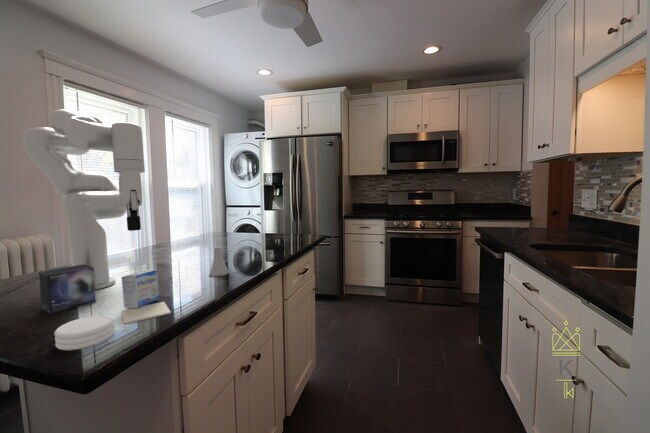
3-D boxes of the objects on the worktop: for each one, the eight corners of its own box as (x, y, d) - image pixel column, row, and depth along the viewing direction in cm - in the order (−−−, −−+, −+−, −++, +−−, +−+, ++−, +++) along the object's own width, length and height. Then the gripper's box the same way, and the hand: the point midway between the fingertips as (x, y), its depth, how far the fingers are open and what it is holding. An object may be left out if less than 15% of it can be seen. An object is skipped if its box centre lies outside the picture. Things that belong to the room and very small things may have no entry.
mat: (121, 311, 81) (121, 310, 81) (164, 303, 87) (163, 301, 86) (124, 324, 73) (124, 322, 73) (170, 313, 79) (170, 311, 79)
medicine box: (137, 308, 81) (135, 275, 81) (123, 308, 82) (120, 276, 82) (159, 299, 89) (157, 269, 89) (146, 299, 90) (143, 269, 90)
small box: (49, 315, 79) (46, 275, 78) (40, 310, 83) (36, 272, 82) (97, 302, 88) (94, 266, 87) (87, 298, 92) (84, 263, 91)
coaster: (92, 327, 72) (91, 312, 72) (125, 332, 69) (124, 316, 69) (43, 348, 63) (41, 331, 62) (79, 354, 60) (77, 337, 60)
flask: (225, 276, 112) (224, 249, 112) (205, 277, 112) (204, 250, 112) (231, 271, 120) (230, 246, 119) (213, 272, 120) (211, 246, 119)
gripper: (112, 168, 93) (117, 229, 95) (115, 164, 81) (120, 233, 83) (141, 169, 98) (145, 227, 99) (148, 165, 86) (152, 231, 87)
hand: (134, 230), depth 91 cm, fingers closed
